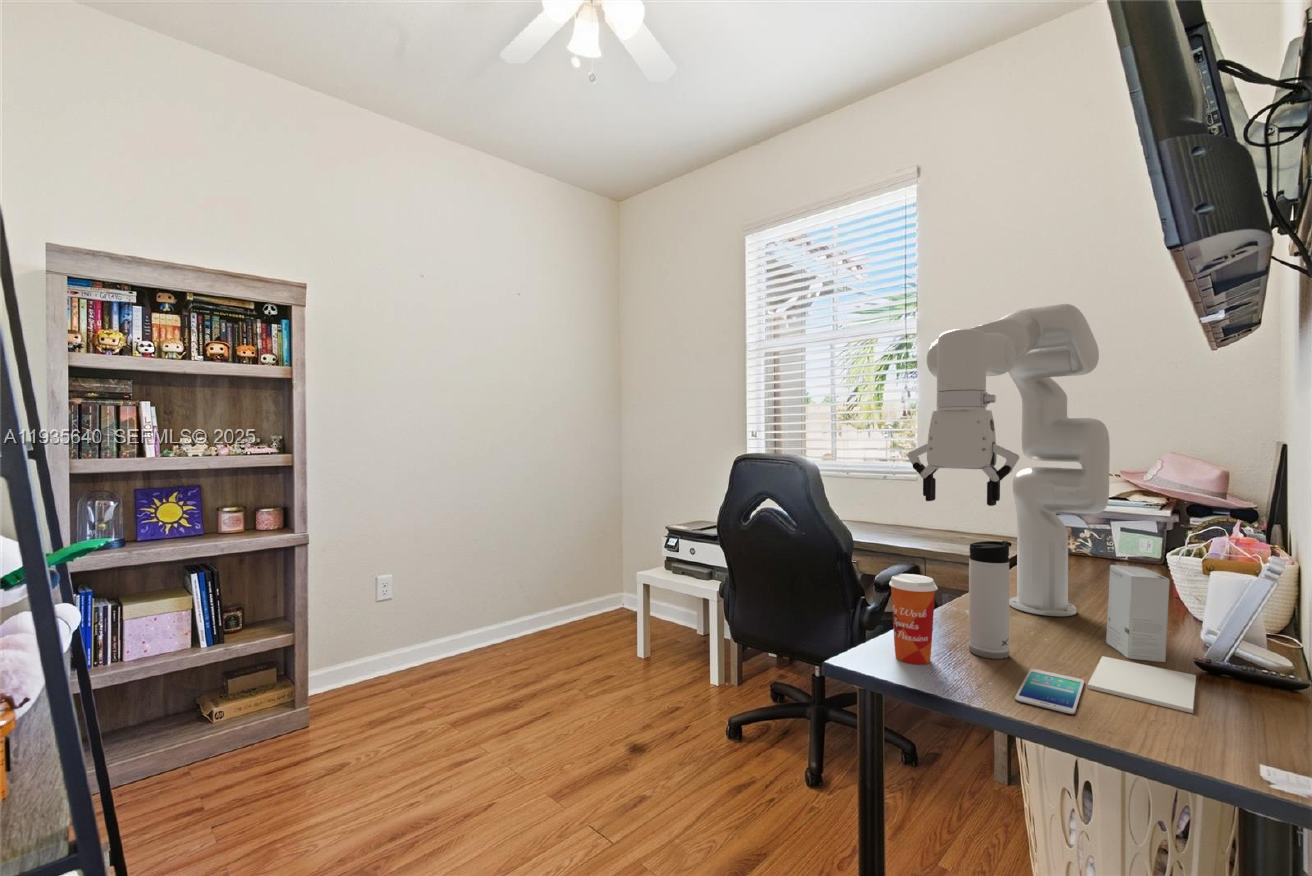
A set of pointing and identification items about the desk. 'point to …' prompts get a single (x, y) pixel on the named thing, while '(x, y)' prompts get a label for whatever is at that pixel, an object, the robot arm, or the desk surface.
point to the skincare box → (1138, 613)
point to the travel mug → (989, 599)
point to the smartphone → (1050, 691)
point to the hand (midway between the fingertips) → (960, 502)
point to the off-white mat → (1145, 683)
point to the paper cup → (913, 617)
